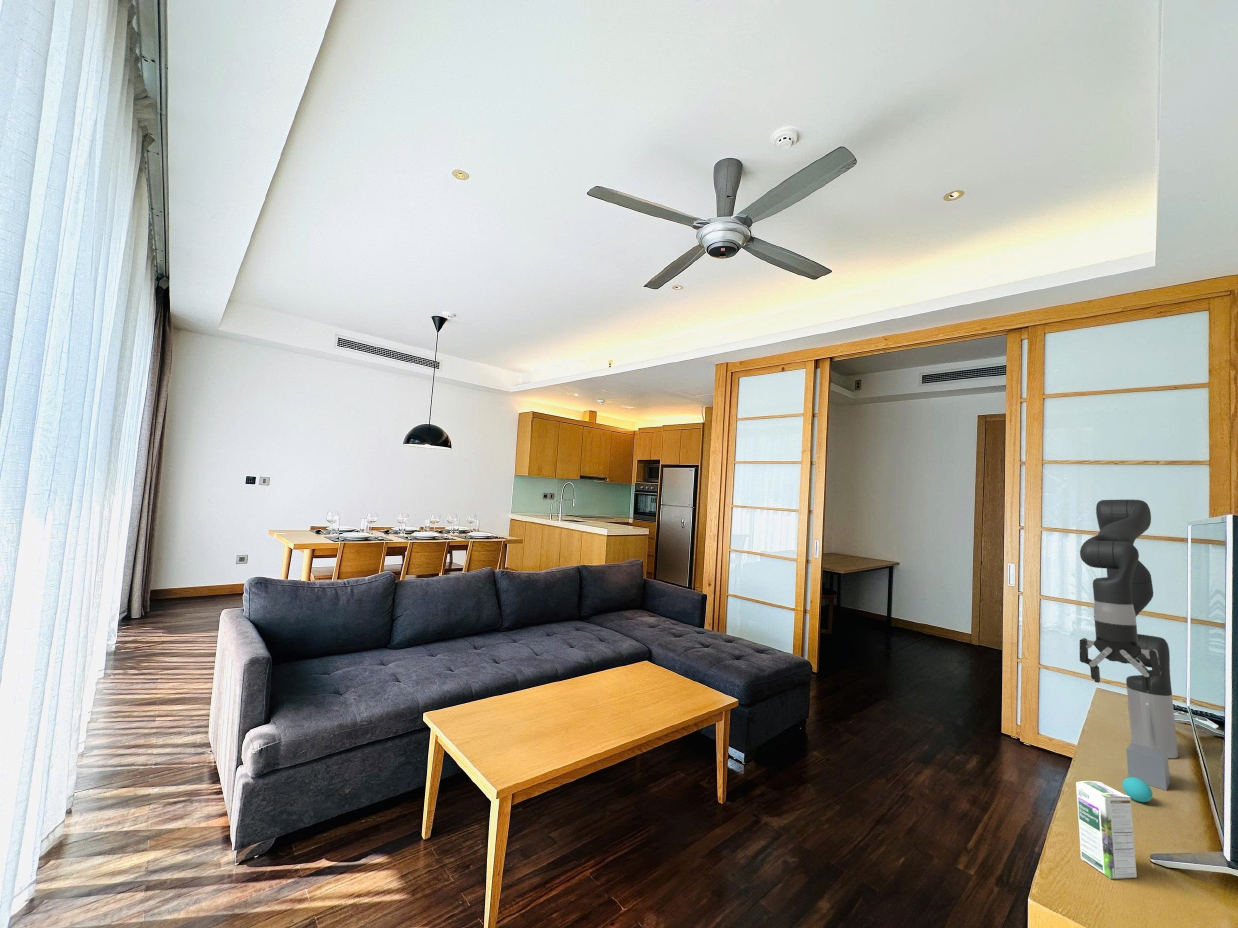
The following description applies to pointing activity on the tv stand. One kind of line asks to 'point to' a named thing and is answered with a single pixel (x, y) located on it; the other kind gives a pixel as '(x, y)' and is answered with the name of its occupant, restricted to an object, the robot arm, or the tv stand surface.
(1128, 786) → the ball
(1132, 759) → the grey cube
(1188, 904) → the tv stand surface
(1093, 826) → the syrup box
